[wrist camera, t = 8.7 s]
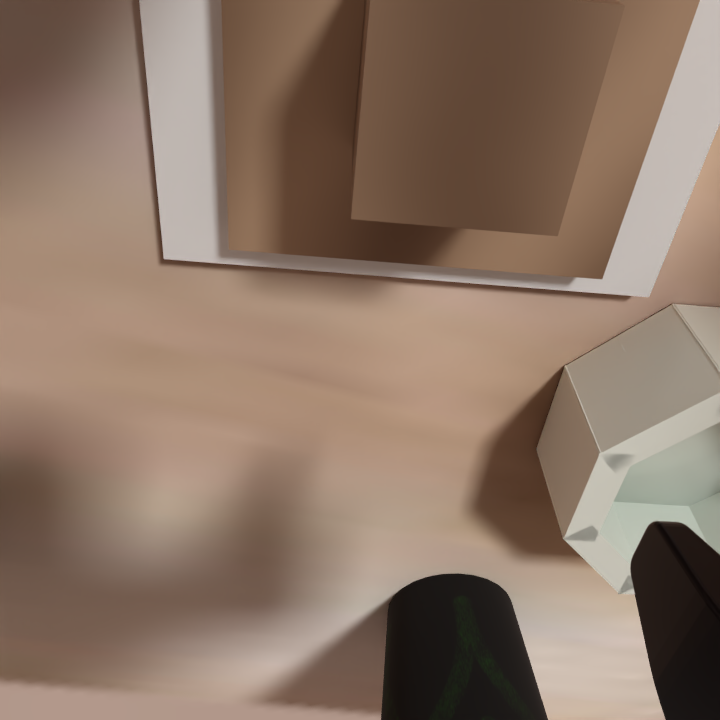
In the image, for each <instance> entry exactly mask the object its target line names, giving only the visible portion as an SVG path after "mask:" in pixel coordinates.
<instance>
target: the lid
mask: <svg viewBox="0 0 720 720" xmlns="http://www.w3.org/2000/svg"><path fill="white" fill-rule="evenodd" d="M699 2H700V0H221V10H222V43H223V77H224V110H225V143H226V176H227V210H228V243H229V250H239V251H251V252H264V253H277V254H289V255H302V256H314V257H327V258H339V259H352V260H364V261H377V262H390V263H402V264H415V265H427V266H440V267H452V268H465V269H477V270H490V271H503V272H515V273H528V274H540V275H553V276H565V277H578V278H590V279H603V276H604V273H605V270H606V267H607V264H608V262H609V259H610V256H611V253H612V250H613V247H614V244H615V242H616V239H617V236H618V233H619V230H620V227H621V224H622V222H623V219H624V216H625V213H626V210H627V207H628V204H629V202H630V199H631V196H632V193H633V190H634V187H635V184H636V182H637V179H638V176H639V173H640V170H641V167H642V164H643V162H644V159H645V156H646V153H647V150H648V147H649V144H650V142H651V139H652V136H653V133H654V130H655V127H656V125H657V122H658V119H659V116H660V113H661V110H662V107H663V105H664V102H665V99H666V96H667V93H668V90H669V87H670V85H671V82H672V79H673V76H674V73H675V70H676V67H677V65H678V62H679V59H680V56H681V53H682V50H683V47H684V45H685V42H686V39H687V36H688V33H689V30H690V27H691V25H692V22H693V19H694V16H695V13H696V10H697V7H698V5H699Z"/></svg>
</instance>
